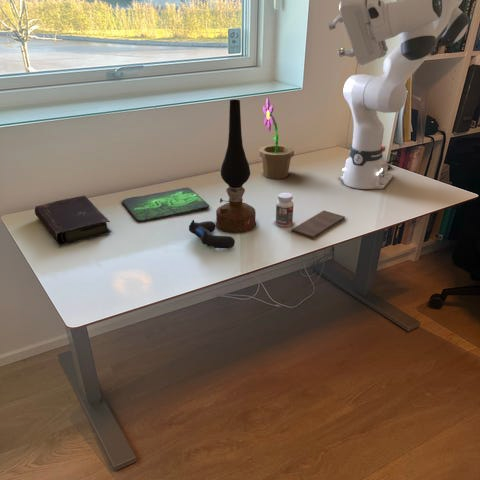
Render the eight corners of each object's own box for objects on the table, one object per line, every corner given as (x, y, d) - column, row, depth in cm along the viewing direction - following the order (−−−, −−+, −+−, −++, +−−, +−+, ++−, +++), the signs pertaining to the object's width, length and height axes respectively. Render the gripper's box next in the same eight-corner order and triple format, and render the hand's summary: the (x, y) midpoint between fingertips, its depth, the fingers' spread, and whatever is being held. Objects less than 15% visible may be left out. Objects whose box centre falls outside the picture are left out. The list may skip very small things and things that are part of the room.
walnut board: (323, 213, 178) (323, 210, 177) (344, 219, 174) (344, 216, 173) (291, 232, 165) (291, 229, 165) (313, 239, 161) (313, 236, 160)
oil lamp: (259, 229, 175) (284, 106, 157) (246, 240, 162) (270, 107, 144) (222, 219, 178) (242, 97, 160) (206, 229, 165) (225, 97, 147)
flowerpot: (253, 170, 215) (254, 95, 198) (285, 167, 218) (288, 92, 201) (265, 182, 204) (267, 102, 186) (298, 178, 207) (303, 100, 190)
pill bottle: (291, 227, 168) (293, 199, 162) (274, 226, 169) (275, 197, 163) (293, 220, 173) (295, 192, 167) (276, 219, 174) (277, 191, 168)
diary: (57, 247, 157) (53, 232, 154) (36, 219, 174) (33, 205, 171) (114, 233, 165) (112, 219, 162) (89, 208, 182) (86, 194, 179)
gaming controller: (206, 237, 168) (182, 228, 162) (214, 221, 166) (189, 211, 160) (230, 257, 156) (205, 248, 150) (239, 241, 154) (213, 231, 148)
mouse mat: (137, 223, 171) (137, 220, 171) (120, 200, 187) (120, 198, 187) (211, 208, 181) (211, 206, 180) (189, 188, 197) (188, 186, 197)
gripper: (389, 47, 154) (345, 62, 160) (371, -17, 138) (323, 2, 145) (388, 61, 151) (344, 75, 158) (370, -2, 135) (321, 16, 142)
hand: (334, 40), depth 151 cm, fingers open, 8 cm apart
